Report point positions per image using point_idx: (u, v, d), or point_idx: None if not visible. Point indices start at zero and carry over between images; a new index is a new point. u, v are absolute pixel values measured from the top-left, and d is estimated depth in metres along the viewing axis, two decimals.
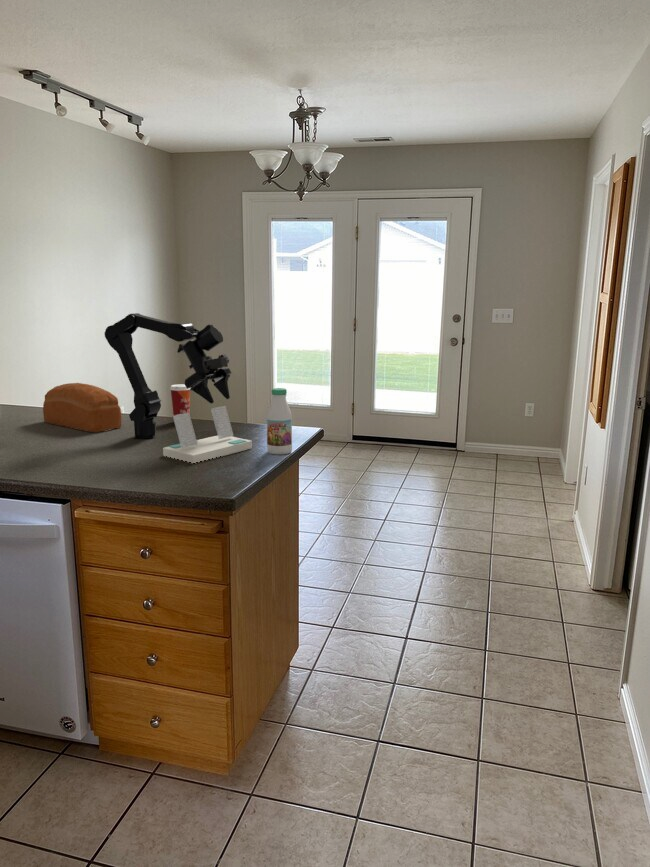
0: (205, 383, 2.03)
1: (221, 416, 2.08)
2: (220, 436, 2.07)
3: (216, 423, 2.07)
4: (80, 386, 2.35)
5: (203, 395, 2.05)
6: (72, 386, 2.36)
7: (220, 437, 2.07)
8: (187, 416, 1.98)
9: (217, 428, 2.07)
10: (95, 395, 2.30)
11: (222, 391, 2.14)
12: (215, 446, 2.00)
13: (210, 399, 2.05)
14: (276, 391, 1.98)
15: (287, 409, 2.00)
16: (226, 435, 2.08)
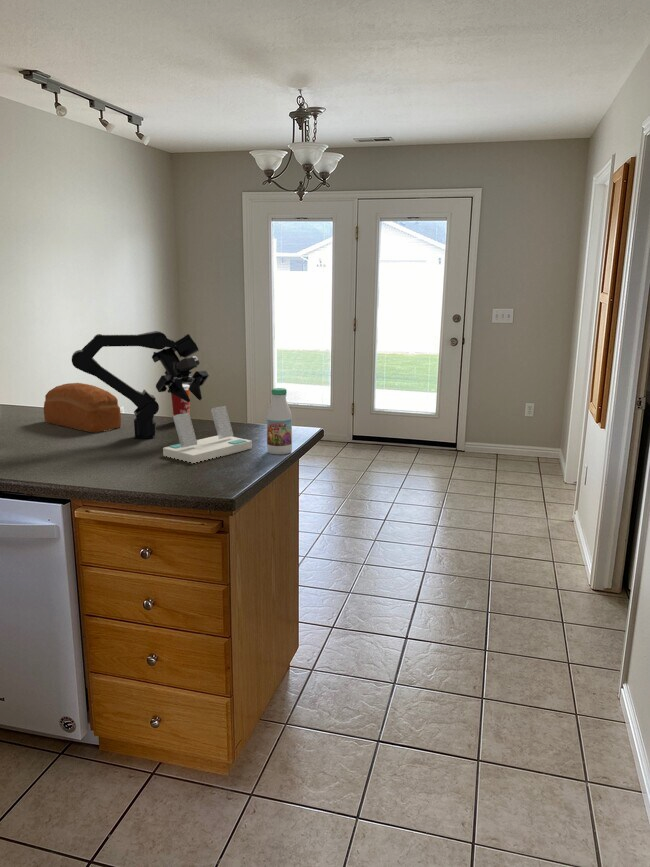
0: (179, 383, 2.13)
1: (221, 416, 2.08)
2: (220, 436, 2.07)
3: (216, 423, 2.07)
4: (80, 386, 2.35)
5: (180, 395, 2.14)
6: (72, 386, 2.36)
7: (220, 437, 2.07)
8: (187, 416, 1.98)
9: (217, 428, 2.07)
10: (94, 395, 2.30)
11: (195, 393, 2.19)
12: (215, 446, 2.00)
13: (186, 398, 2.14)
14: (276, 391, 1.98)
15: (287, 409, 2.00)
16: (226, 435, 2.08)
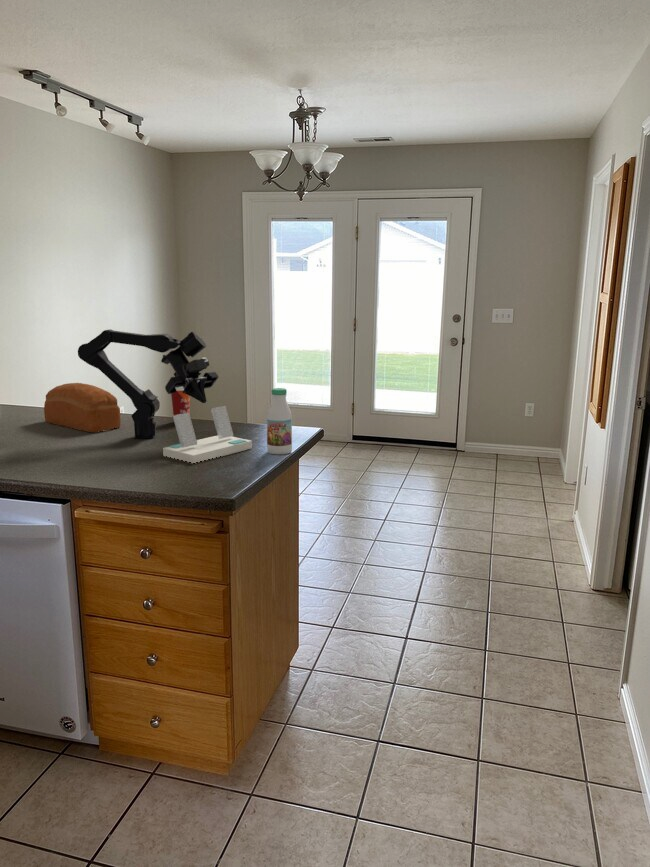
0: (194, 384, 2.11)
1: (221, 416, 2.08)
2: (220, 436, 2.07)
3: (216, 423, 2.07)
4: (80, 386, 2.36)
5: (195, 396, 2.13)
6: (72, 386, 2.37)
7: (220, 437, 2.07)
8: (187, 416, 1.98)
9: (217, 428, 2.07)
10: (94, 395, 2.30)
11: None
12: (215, 446, 2.00)
13: (201, 399, 2.12)
14: (276, 391, 1.98)
15: (287, 409, 2.00)
16: (226, 435, 2.08)
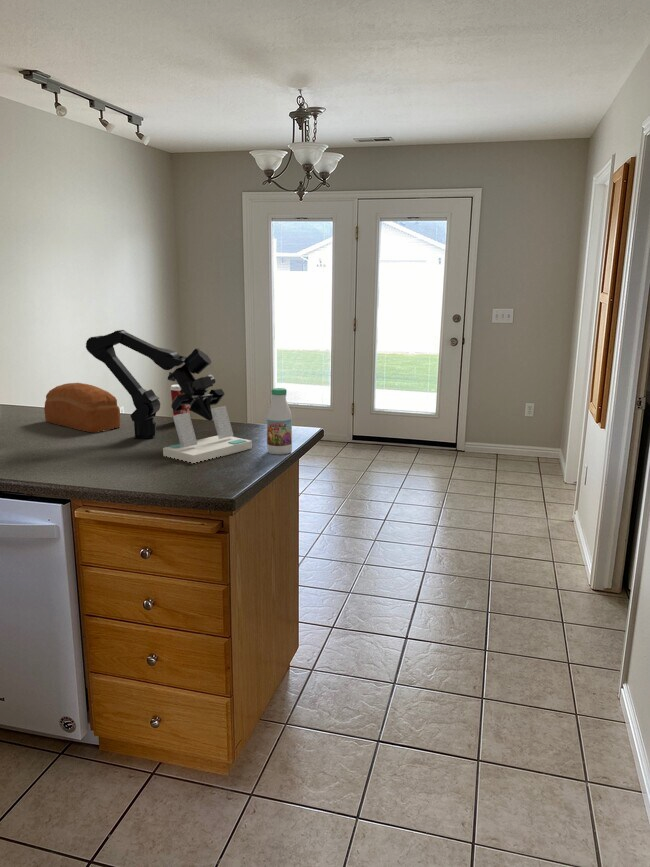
0: (200, 401, 2.11)
1: (221, 416, 2.08)
2: (220, 436, 2.07)
3: (216, 423, 2.07)
4: (80, 386, 2.36)
5: (201, 414, 2.12)
6: (72, 386, 2.37)
7: (220, 437, 2.07)
8: (187, 416, 1.98)
9: (217, 428, 2.07)
10: (93, 395, 2.30)
11: None
12: (215, 446, 2.00)
13: (208, 416, 2.12)
14: (276, 391, 1.98)
15: (287, 409, 2.00)
16: (226, 435, 2.08)
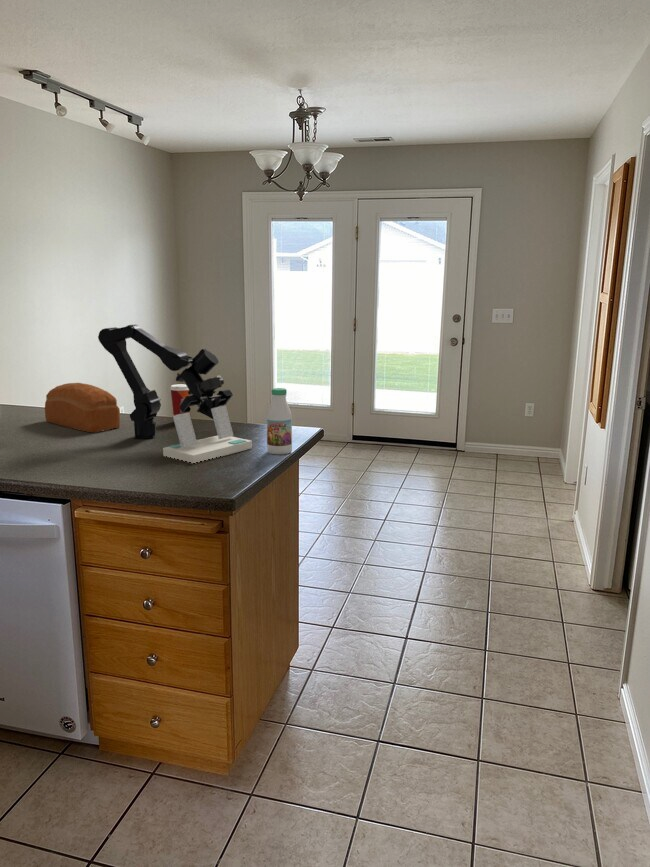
0: (209, 403, 2.09)
1: (222, 416, 2.08)
2: (220, 436, 2.07)
3: (216, 423, 2.07)
4: (80, 386, 2.36)
5: (210, 415, 2.10)
6: (72, 386, 2.37)
7: (220, 437, 2.07)
8: (187, 416, 1.98)
9: (217, 428, 2.07)
10: (93, 395, 2.30)
11: None
12: (215, 446, 2.00)
13: None
14: (276, 391, 1.98)
15: (287, 409, 2.00)
16: (226, 435, 2.08)
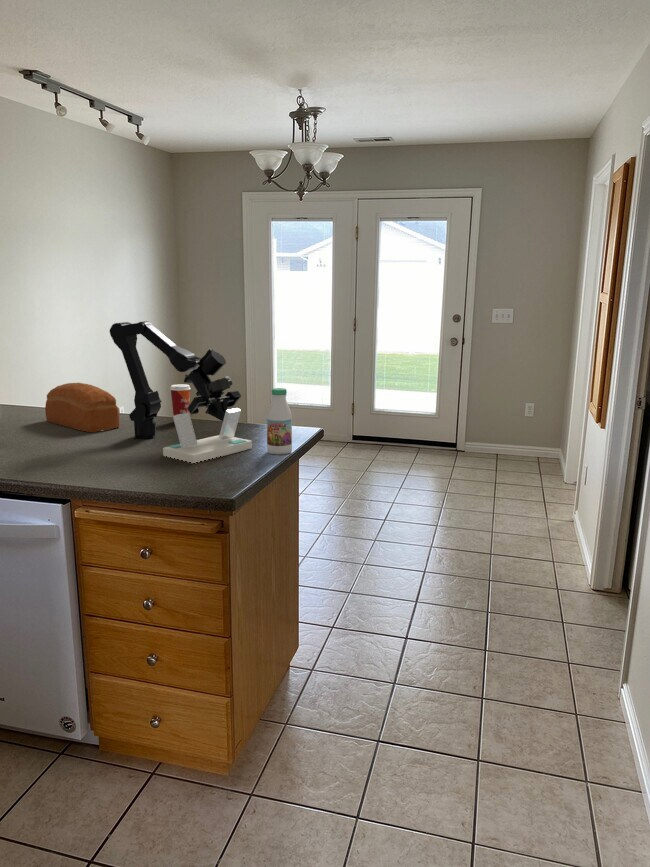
0: (217, 404, 2.06)
1: (232, 420, 2.05)
2: (221, 437, 2.06)
3: (224, 425, 2.05)
4: (79, 386, 2.36)
5: (218, 416, 2.08)
6: (71, 386, 2.37)
7: (221, 438, 2.07)
8: (187, 416, 1.98)
9: (222, 429, 2.05)
10: (92, 395, 2.30)
11: None
12: (215, 446, 2.00)
13: None
14: (276, 391, 1.98)
15: (287, 409, 2.00)
16: (227, 437, 2.08)
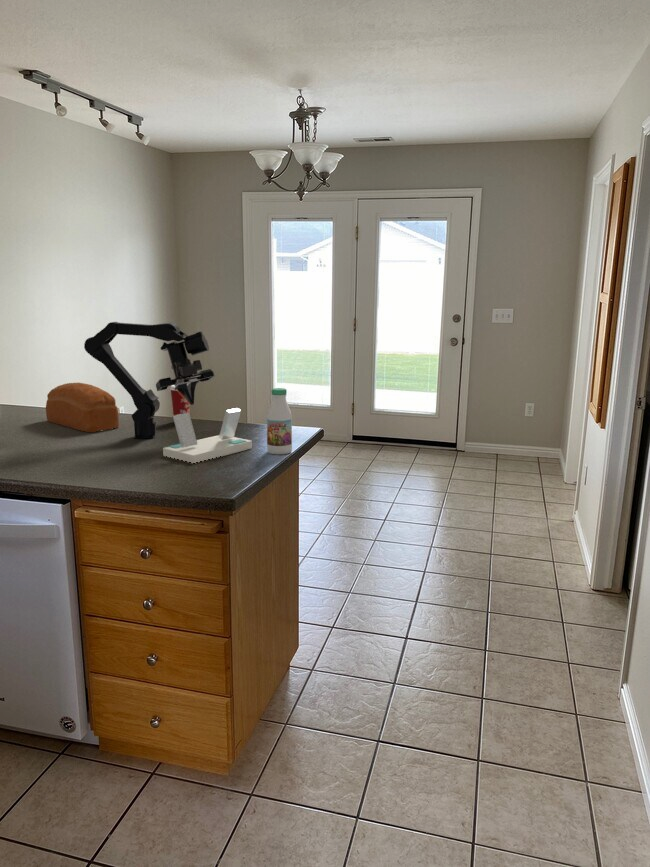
0: (183, 386, 2.14)
1: (232, 420, 2.05)
2: (221, 437, 2.06)
3: (224, 425, 2.05)
4: (79, 386, 2.36)
5: (185, 396, 2.17)
6: (71, 386, 2.37)
7: (221, 438, 2.07)
8: (187, 416, 1.98)
9: (222, 429, 2.05)
10: (91, 395, 2.30)
11: None
12: (215, 446, 2.00)
13: (189, 401, 2.16)
14: (276, 391, 1.98)
15: (287, 409, 2.00)
16: (227, 437, 2.08)
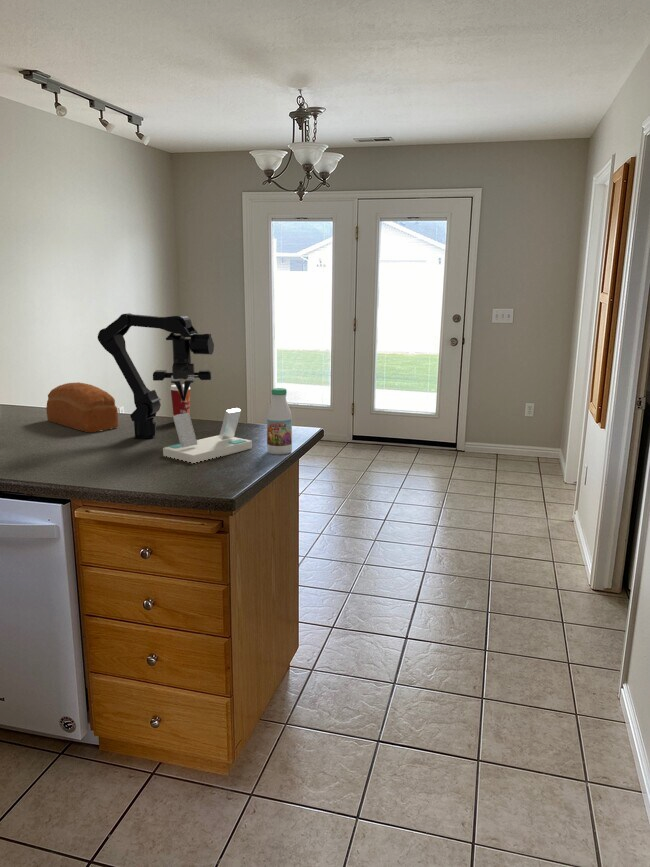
0: (176, 383, 2.15)
1: (232, 420, 2.05)
2: (221, 437, 2.06)
3: (224, 425, 2.05)
4: (79, 386, 2.36)
5: None
6: (71, 386, 2.37)
7: (221, 438, 2.07)
8: (187, 416, 1.98)
9: (222, 429, 2.05)
10: (90, 395, 2.30)
11: None
12: (215, 446, 2.00)
13: (181, 397, 2.18)
14: (276, 391, 1.98)
15: (287, 409, 2.00)
16: (227, 437, 2.08)
